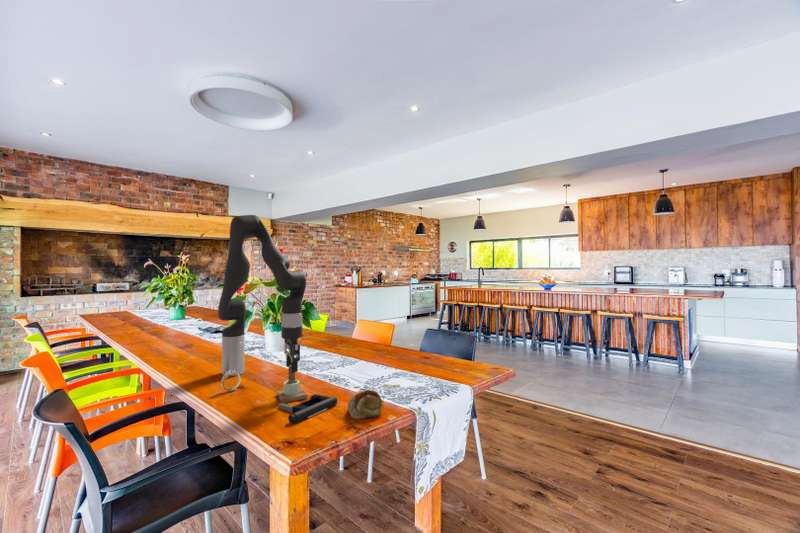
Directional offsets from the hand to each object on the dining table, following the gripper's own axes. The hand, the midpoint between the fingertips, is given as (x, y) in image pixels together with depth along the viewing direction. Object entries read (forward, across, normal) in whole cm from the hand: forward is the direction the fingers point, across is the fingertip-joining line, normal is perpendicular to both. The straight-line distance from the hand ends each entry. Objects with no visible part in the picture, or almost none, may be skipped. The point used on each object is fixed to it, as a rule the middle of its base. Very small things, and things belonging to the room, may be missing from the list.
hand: (291, 369), depth 136 cm
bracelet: (+11, -18, -19) cm, 28 cm away
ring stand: (+10, 0, 0) cm, 10 cm away
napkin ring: (+9, 0, 0) cm, 9 cm away
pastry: (+11, +25, +19) cm, 33 cm away
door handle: (+11, +14, +1) cm, 17 cm away
